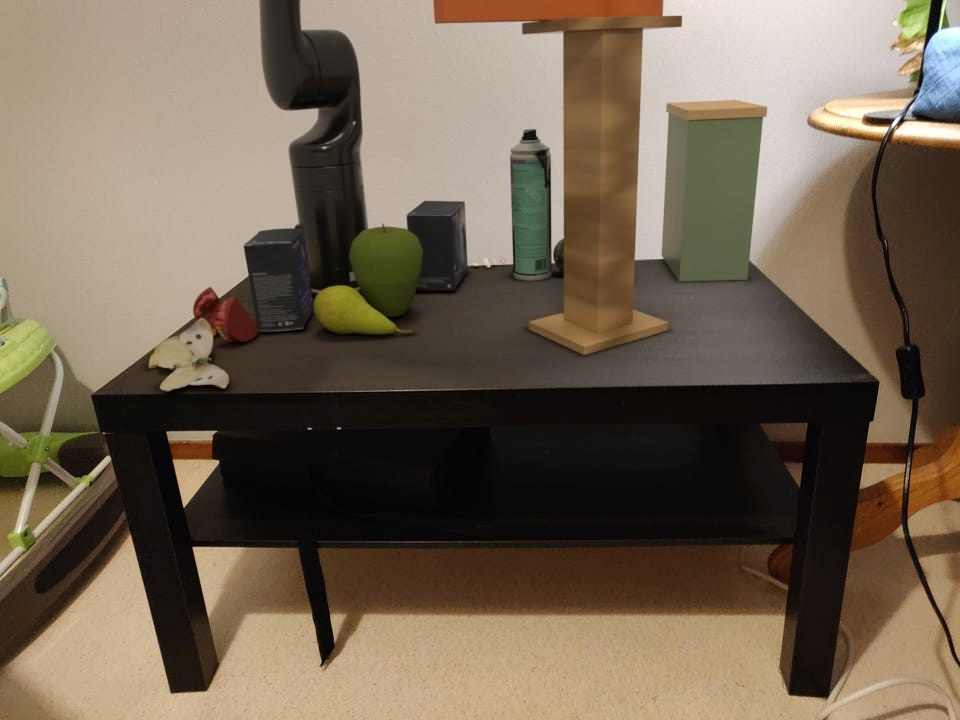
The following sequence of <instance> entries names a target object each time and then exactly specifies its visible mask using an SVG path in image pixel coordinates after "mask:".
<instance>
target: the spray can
mask: <svg viewBox="0 0 960 720" xmlns="http://www.w3.org/2000/svg"><path fill="white" fill-rule="evenodd" d="M541 140H542V139H541V138H539V137H538V136H537V129H536V128H529V129H524V130H523V132H522V136H521V139H519V143H517V144H516V145H515V146H513V147H512V148H510V152H511V153H510V154H509V162H510V163H509V167H510V168H509V169H510V172H509V173H510V199H511V200H510V201H511V203H510V205H511V207H510V208H511V236H512V239H511V241H512V269H513V270H512V272H513V277H514V278H515V279H516V280H520V281H529V282H531V281H535V282H536V281H543V280H546V279H547V280H548V279H549V278H551V277H552V270H553V269H552V265H553V264H552V263H553V262H552V261H553V260H552V259H553V258H552V256H553V253H552V154H551V152H550V150H551V147H550V146H547V145H546V144H545V143H543V142H542V141H541Z"/></svg>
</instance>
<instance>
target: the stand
mask: <svg viewBox="0 0 960 720" xmlns="http://www.w3.org/2000/svg"><path fill="white" fill-rule="evenodd" d="M682 26H683V15H663V16H637V17H590V18H564V19H555V20H546V21H527V22H521V35H545V34H546V35H547V34H551V35H553V34H562V40H563V41H562V62H563V63H562V64H563V65H562V68H563V69H562V72H563V73H562V74H563V75H562V76H563V77H562V79H563V80H562V81H563V83H562V86H563V87H562V91H563V92H562V94H563V99H562V100H563V101H562V102H563V105H562V109H563V110H562V111H563V112H562V114H563V117H562V118H563V120H562V121H563V123H562V125H563V127H562V128H563V131H562V132H563V239H564V272H563V312H561V313H557V314H553V315H548V316H545V317H541V318H537V319H534V320H530V321H528V330H529V331H532V332H534V333H536V334H537V335H540V336H542V337H544V338H546V339H548V340H551V341H553V342H555V343H557V344H559V345H561V346H563V347H565V348H568V349H570V350H572V351H574V352H576V353H579V354H581V355H583V356H587V355H590V354H593V353H597V352H600V351H603V350H607V349H609V348H613V347H616V346H617V347H618V346H620V345H625V344H628V343H630V342H633V341H636V340H640V339H644V338H647V337H650V336H654V335H657V334H660V333H663V332H667V331H669V321H666V320H664V319H661V318H658V317H656V316H653V315H650V314H647V313H644V312H641V311H638V310H636V309H634V297H635V296H634V295H635V267H636V266H635V264H636V241H637V240H636V239H637V237H636V236H637V208H638V185H639V184H638V183H639V182H638V181H639V153H640V152H639V151H640V123H641V95H642V72H643V71H642V69H643V44H644V43H643V41H644V40H643V39H644V31H648V30H658V29H671V28H672V29H673V28H681V27H682Z"/></svg>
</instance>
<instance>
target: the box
mask: <svg viewBox="0 0 960 720" xmlns="http://www.w3.org/2000/svg"><path fill="white" fill-rule="evenodd" d="M243 251H244V257H245V262H246V269H247V275H248V280H249V286H250V291H251V298H252V304H253V308H254V309H253V310H254V315H255V321H256V327H257V329H258V330H259V332H265V333H270V332H271V333H273V332H274V333H275V332H277V333H278V332H288V331H296V330H297V331H298V330H304V328H305V326H306V324H307V323H308V321H309V319H310V318H311V315H312V314H313V313H314V310H313V305H314V298H313V295H312V291H311V284H310V277H309V270H308V263H307V257H306V249H305V243H304V235H303V230H302V229H296V228H295V227H294V228H293V227H292V228H291V227H289V228H288V227H286V228H274V229H266V230H259V231H257V233H256V234H255V235H254V236H252V238H250V239H249V240H248V241H247V242H245V243H244V245H243Z"/></svg>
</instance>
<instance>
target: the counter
mask: <svg viewBox="0 0 960 720" xmlns="http://www.w3.org/2000/svg"><path fill="white" fill-rule="evenodd" d="M665 109H666V110H665V112H666V113H668V117H667V118H668V119H667V136H666V137H667V138H666V139H667V140H666V158H665V159H666V160H665V162H666V163H665V179H664V180H665V181H664V197H663V199H664V200H663V216H662V217H663V218H662V219H663V220H662V236H661V237H662V241H661V257H662V258H663V260H664V261H665V263H666V264H667V266H668V267H669V269H670V270H671V271H672V273H673V274H674V276H675V278H676V279H677V281H678V282H679V283H681V282H682V283H683V282H716V281H717V282H718V281H747V280H748V277H749V268H750V257H751V247H752V237H753V235H752V234H753V227H754V226H753V225H754V217H755V207H756V206H755V204H756V196H757V195H756V194H757V186H758V185H757V184H758V176H759V175H758V173H759V163H760V153H761V142H762V133H763V123H764V122H763V121H764V118H766V117H767V114H768V106H766V105H761V104H757V103H753V102H747V101H743V100H739V99H728V100H727V99H725V100H724V99H723V100H705V101H703V100H702V101H681V102H666V107H665Z"/></svg>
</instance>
